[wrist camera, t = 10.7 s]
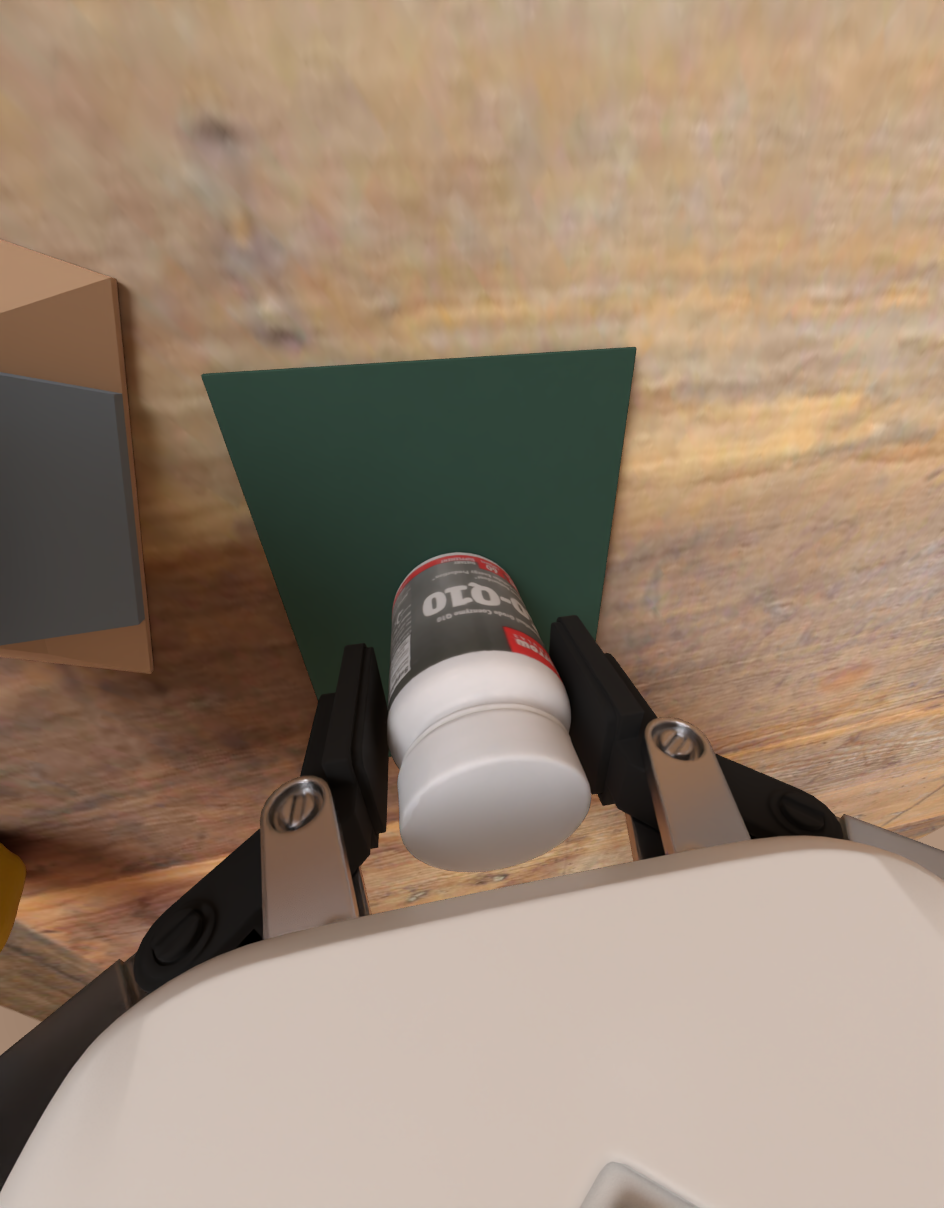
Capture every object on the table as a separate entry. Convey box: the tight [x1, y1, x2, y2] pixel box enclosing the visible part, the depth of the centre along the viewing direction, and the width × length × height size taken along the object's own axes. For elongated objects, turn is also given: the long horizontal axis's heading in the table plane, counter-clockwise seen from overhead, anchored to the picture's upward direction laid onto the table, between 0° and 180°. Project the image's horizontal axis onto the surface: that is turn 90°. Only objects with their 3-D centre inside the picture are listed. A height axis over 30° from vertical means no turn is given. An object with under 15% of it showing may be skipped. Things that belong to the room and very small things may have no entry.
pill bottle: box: [387, 552, 591, 872], centre depth 12 cm, size 5×5×8 cm
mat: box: [201, 347, 636, 757], centre depth 15 cm, size 16×12×1 cm
